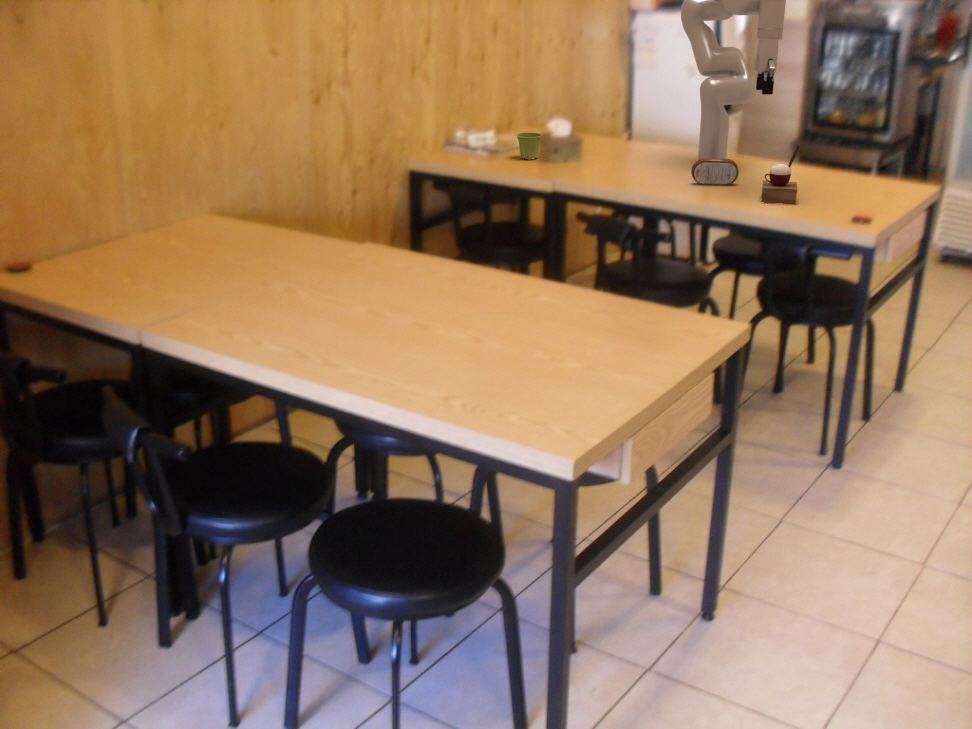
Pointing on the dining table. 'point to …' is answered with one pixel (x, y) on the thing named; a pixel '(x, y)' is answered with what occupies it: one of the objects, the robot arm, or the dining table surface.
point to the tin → (715, 171)
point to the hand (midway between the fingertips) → (764, 92)
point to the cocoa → (781, 172)
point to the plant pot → (529, 144)
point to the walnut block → (779, 193)
